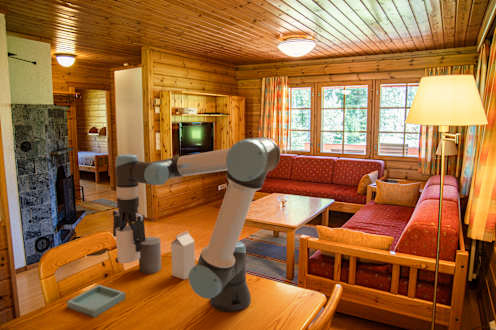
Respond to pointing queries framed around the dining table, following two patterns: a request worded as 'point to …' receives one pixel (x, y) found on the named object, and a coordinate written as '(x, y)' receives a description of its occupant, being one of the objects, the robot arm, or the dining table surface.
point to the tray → (96, 300)
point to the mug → (125, 244)
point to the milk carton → (182, 255)
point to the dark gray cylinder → (150, 255)
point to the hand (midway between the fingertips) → (129, 257)
